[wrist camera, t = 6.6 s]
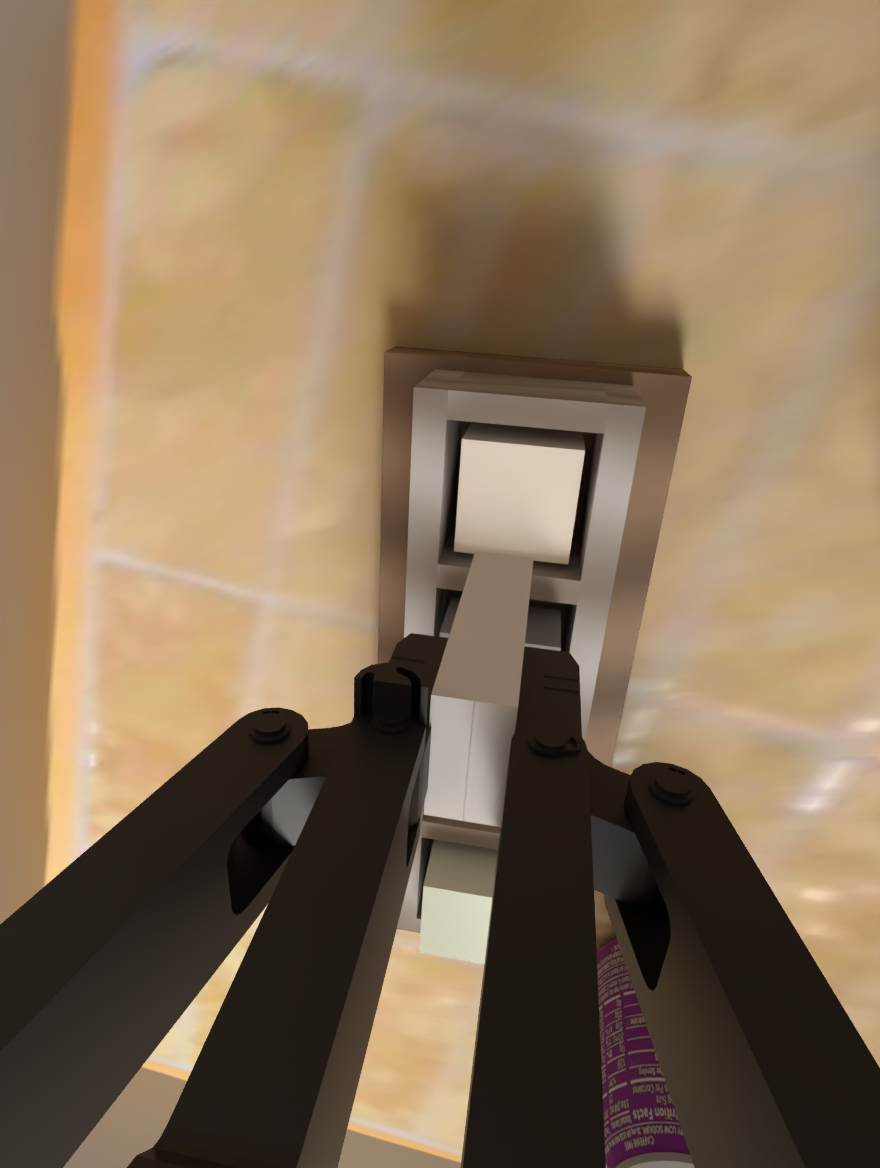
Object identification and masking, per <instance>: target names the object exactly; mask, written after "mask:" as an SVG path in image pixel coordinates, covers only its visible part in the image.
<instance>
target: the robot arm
mask: <svg viewBox="0 0 880 1168" xmlns="http://www.w3.org/2000/svg"><path fill="white" fill-rule="evenodd" d="M533 559H534V558H532V557H523V556H514V555H506V554H497V553H488V552H480V551H475V554H474V557H473V560H472V563H471V567H470V570H469V573H468V576H467V580H466V583H465V586H464V589H463V593H462V596H461V599H460V602H459V606H458V609H457V612H456V615H455V619H454V622H453V625H452V628H451V632H450V635H449V638H445V637H437V636H430V635H422V634H414V633H410V634H409V635H408V636H406V637H405V638H404V639H402V640H401V641H400V642H398V643H397V645H396V647H395V649H394V651H393V654H392V656H391V659H390V661H389V663H380V664H375V665H371V666H369V667H367V668H365V669H363V670H361V671H360V672H359V673H358V674H357V675H356V676H355V677H354V718H353V720H352V722H351V723H349V724H346V725H343V726H339V727H333V728H323V729H309V730H308V723H307V721H306V720H305V719H304V717H303V716H302V715H300V714H298V713H297V712H295V711H293V710H289V709H283V708H265V709H261V710H258V711H254V712H251V713H249V714H247V715H246V716H244V717H242V718H241V719H239V720H238V721H237V722H235V723H234V724H233V725H232V726H231V727H230V728H228V729H227V730H226V731H225V732H224V733H223V734H222V735H220V736H219V737H218V738H217V739H216V740H215V741H213V742H212V743H211V744H210V745H209V746H208V747H206V748H205V749H204V750H203V751H202V752H201V753H199V754H198V755H197V756H196V757H195V758H194V759H192V760H191V761H190V762H189V763H188V764H187V765H185V766H184V767H183V768H182V769H181V770H180V771H178V772H177V773H176V774H175V775H174V776H173V777H171V778H170V779H169V780H168V781H167V782H166V783H164V784H163V785H162V786H161V787H160V788H159V789H158V790H156V791H155V792H154V793H153V794H152V795H151V796H149V797H148V798H147V799H146V800H145V801H144V802H142V803H141V804H140V805H139V806H138V807H137V808H135V809H134V810H133V811H132V812H131V813H130V814H128V815H127V816H126V817H125V818H124V819H123V820H121V821H120V822H119V823H118V824H117V825H116V826H114V827H113V828H112V829H111V830H110V831H109V832H107V833H106V834H105V835H104V836H103V837H102V838H100V839H99V840H98V841H97V842H96V843H95V844H94V845H92V846H91V847H90V848H89V849H88V850H87V851H85V852H84V853H83V854H82V855H81V856H80V857H78V858H77V859H76V860H75V861H74V862H73V863H71V864H70V865H69V866H68V867H67V868H66V869H64V870H63V871H62V872H61V873H60V874H59V875H57V876H56V877H55V878H54V879H53V880H52V881H50V882H49V883H48V884H47V885H46V886H45V887H43V888H42V889H41V890H40V891H39V892H38V893H37V894H35V895H34V896H33V897H32V898H31V899H30V900H28V901H27V902H26V903H25V904H24V905H23V906H21V907H20V908H19V909H18V910H17V911H16V912H14V913H13V914H12V915H11V916H10V917H9V918H7V919H6V920H5V921H4V922H3V923H2V924H0V1168H63V1167H64V1165H65V1164H66V1163H67V1162H68V1160H69V1159H70V1158H71V1156H72V1155H73V1154H74V1153H75V1151H76V1150H77V1149H78V1148H79V1146H80V1145H81V1144H82V1142H83V1141H84V1140H85V1139H86V1137H87V1136H88V1135H89V1133H90V1132H91V1131H92V1130H93V1128H94V1127H95V1126H96V1124H97V1123H98V1122H99V1121H100V1119H101V1118H102V1117H103V1115H104V1114H105V1112H107V1110H108V1109H109V1108H110V1106H111V1105H112V1104H113V1103H114V1101H115V1100H116V1099H117V1097H118V1096H119V1095H120V1094H121V1092H122V1091H123V1090H124V1088H125V1087H126V1086H127V1084H128V1083H129V1082H130V1081H131V1079H132V1078H133V1077H134V1075H135V1074H136V1073H137V1072H138V1070H139V1069H140V1068H141V1067H142V1065H143V1064H144V1063H145V1061H146V1060H147V1059H148V1058H149V1056H150V1055H151V1054H152V1052H153V1051H154V1050H155V1049H156V1047H157V1046H158V1045H159V1043H160V1042H161V1041H162V1040H163V1038H164V1037H165V1036H166V1034H167V1033H168V1032H169V1030H170V1029H171V1028H172V1027H173V1025H174V1024H175V1023H176V1021H177V1020H178V1019H179V1018H180V1016H181V1015H182V1014H183V1012H184V1011H185V1010H186V1009H187V1007H188V1006H189V1005H190V1003H191V1002H192V1001H193V1000H194V998H195V997H196V996H197V994H198V993H199V992H200V991H201V989H202V988H203V987H204V985H205V984H206V983H207V982H208V980H209V979H210V978H211V976H212V975H213V974H214V973H215V971H216V970H217V969H218V967H219V966H220V965H221V964H222V962H223V961H224V960H225V958H226V957H227V956H228V955H229V953H230V952H231V951H232V949H233V948H234V947H235V946H236V944H237V943H238V942H239V940H240V939H241V938H242V937H243V935H244V934H245V933H246V931H247V930H248V929H249V928H250V926H251V925H252V924H253V922H254V921H255V920H256V919H257V917H258V916H259V915H260V913H261V912H262V911H263V910H264V908H265V907H266V906H267V904H268V906H267V908H266V910H265V912H264V914H263V917H262V919H261V921H260V923H259V925H258V928H257V930H256V932H255V934H254V936H253V938H252V941H251V943H250V945H249V947H248V949H247V952H246V954H245V956H244V958H243V960H242V963H241V965H240V967H239V969H238V971H237V973H236V976H235V978H234V980H233V982H232V984H231V987H230V989H229V991H228V993H227V995H226V998H225V1000H224V1002H223V1004H222V1006H221V1008H220V1011H219V1013H218V1015H217V1017H216V1019H215V1022H214V1024H213V1026H212V1028H211V1030H210V1033H209V1035H208V1037H207V1039H206V1041H205V1043H204V1046H203V1048H202V1050H201V1052H200V1054H199V1057H198V1059H197V1061H196V1063H195V1065H194V1067H193V1070H192V1072H191V1074H190V1076H189V1078H188V1081H187V1083H186V1085H185V1087H184V1089H183V1092H182V1094H181V1096H180V1098H179V1101H178V1103H177V1105H176V1107H175V1109H174V1111H173V1113H172V1116H171V1118H170V1120H169V1122H168V1124H167V1126H166V1128H165V1130H164V1132H163V1134H162V1136H161V1138H160V1139H159V1140H158V1142H157V1143H156V1144H155V1145H154V1147H153V1148H151V1149H149V1150H147V1151H145V1152H143V1153H141V1154H139V1155H137V1156H136V1157H135V1158H134V1159H133V1161H132V1162H131V1163H130V1164H129V1166H128V1167H127V1168H337V1167H338V1162H339V1159H340V1155H341V1150H342V1147H343V1142H344V1139H345V1135H346V1130H347V1126H348V1122H349V1118H350V1114H351V1110H352V1106H353V1102H354V1098H355V1094H356V1090H357V1086H358V1082H359V1078H360V1074H361V1070H362V1066H363V1062H364V1058H365V1054H366V1050H367V1046H368V1042H369V1038H370V1034H371V1030H372V1026H373V1022H374V1018H375V1014H376V1010H377V1006H378V1002H379V998H380V994H381V990H382V985H383V981H384V977H385V973H386V969H387V965H388V961H389V957H390V953H391V949H392V945H393V941H394V937H395V933H396V929H397V925H398V921H399V917H400V913H401V909H402V905H403V901H404V897H405V893H406V889H407V885H408V881H409V877H410V873H411V869H412V865H413V861H414V857H415V853H416V849H417V844H418V840H419V836H420V821H421V813H422V809H423V805H424V815H430V816H436V817H442V818H448V819H454V820H460V821H466V822H472V823H478V824H484V825H491V826H497V827H501V829H500V837H499V845H498V853H497V861H496V868H495V876H494V887H493V896H492V904H491V913H490V921H489V930H488V938H487V947H486V956H485V964H484V973H483V981H482V990H481V998H480V1007H479V1015H478V1024H477V1032H476V1041H475V1050H474V1058H473V1067H472V1075H471V1084H470V1092H469V1101H468V1109H467V1118H466V1126H465V1135H464V1144H463V1152H462V1161H461V1168H606V1159H605V1135H604V1112H603V1089H602V1066H601V1043H600V1020H599V997H598V973H597V950H596V927H595V904H594V889H595V890H597V891H599V892H601V893H603V894H604V897H605V905H606V908H607V911H608V914H609V917H610V920H611V923H612V926H613V928H614V931H615V934H616V937H617V940H618V943H619V946H620V949H621V952H622V955H623V958H624V961H625V964H626V967H627V970H628V973H629V976H630V979H631V981H632V984H633V987H634V990H635V993H636V996H637V999H638V1002H639V1005H640V1008H641V1011H642V1014H643V1017H644V1020H645V1023H646V1026H647V1029H648V1032H649V1035H650V1037H651V1040H652V1043H653V1046H654V1049H655V1052H656V1055H657V1058H658V1061H659V1064H660V1067H661V1070H662V1073H663V1076H664V1079H665V1082H666V1085H667V1088H668V1091H669V1093H670V1096H671V1099H672V1102H673V1105H674V1108H675V1111H676V1114H677V1117H678V1120H679V1123H680V1126H681V1129H682V1132H683V1135H684V1138H685V1141H686V1144H687V1146H688V1149H689V1152H690V1155H691V1158H692V1161H693V1164H694V1167H695V1168H880V1068H879V1066H878V1064H877V1063H876V1061H875V1059H874V1058H873V1056H872V1055H871V1053H870V1051H869V1050H868V1048H867V1046H866V1045H865V1043H864V1041H863V1040H862V1038H861V1036H860V1035H859V1033H858V1031H857V1030H856V1028H855V1027H854V1025H853V1023H852V1022H851V1020H850V1018H849V1017H848V1015H847V1013H846V1012H845V1010H844V1008H843V1007H842V1005H841V1003H840V1002H839V1000H838V999H837V997H836V995H835V994H834V992H833V990H832V989H831V987H830V985H829V984H828V982H827V980H826V979H825V977H824V975H823V974H822V972H821V970H820V969H819V967H818V966H817V964H816V962H815V961H814V959H813V957H812V956H811V954H810V952H809V951H808V949H807V947H806V946H805V944H804V942H803V941H802V939H801V938H800V936H799V934H798V933H797V931H796V929H795V928H794V926H793V924H792V923H791V921H790V919H789V918H788V916H787V914H786V913H785V911H784V910H783V908H782V906H781V905H780V903H779V901H778V900H777V898H776V896H775V895H774V893H773V891H772V890H771V888H770V886H769V885H768V883H767V882H766V880H765V878H764V877H763V875H762V873H761V872H760V870H759V868H758V867H757V865H756V863H755V862H754V860H753V858H752V857H751V855H750V853H749V852H748V850H747V849H746V847H745V845H744V844H743V842H742V840H741V839H740V837H739V835H738V834H737V832H736V830H735V829H734V827H733V825H732V824H731V822H730V821H729V819H728V817H727V816H726V814H725V812H724V811H723V809H722V807H721V806H720V804H719V802H718V801H717V799H716V797H715V796H714V794H713V793H712V791H711V789H710V788H709V787H708V786H707V785H706V783H705V782H704V781H703V780H702V779H701V778H700V777H698V776H697V775H695V774H693V773H692V772H690V771H689V770H687V769H684V768H682V767H679V766H676V765H673V764H668V763H660V762H654V763H648V764H643V765H641V766H640V767H638V768H636V769H635V770H634V771H633V773H632V775H629V774H626V773H623V772H621V771H618V770H615V769H613V768H611V767H609V766H607V765H605V764H603V763H602V762H600V761H599V760H597V759H596V758H595V757H594V756H593V755H592V754H591V753H590V752H589V751H588V749H587V746H586V743H585V740H584V739H583V738H582V724H581V696H580V669H579V665H578V663H577V662H576V661H575V659H574V658H573V657H572V655H571V654H570V652H564V651H556V650H549V649H541V648H534V647H526V646H525V636H526V626H527V617H528V607H529V598H530V588H531V578H532V569H533ZM424 801H425V803H424Z"/></svg>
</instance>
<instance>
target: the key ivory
mask: <svg viewBox="0 0 880 1168" xmlns="http://www.w3.org/2000/svg"><path fill="white" fill-rule="evenodd" d="M584 455H585V445H584V437H583V432H577V431H566V430H555V429H544V428H533V427H522V426H511V425H500V424H489V423H478V422H471V424H470V426H469V427H468V429H467V431H466V433H465V434H464V436H463V438H462V444H461V458H460V472H459V487H458V501H457V515H456V529H455V543H454V552H463V553H472V554H475V551H480V552H488V553H497V554H506V555H514V556H523V557H532V558H534V559H533V561H542V562H551V563H560V564H568V563H569V556H570V549H571V542H572V536H573V529H574V522H575V516H576V509H577V502H578V495H579V489H580V482H581V475H582V469H583V462H584Z"/></svg>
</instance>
